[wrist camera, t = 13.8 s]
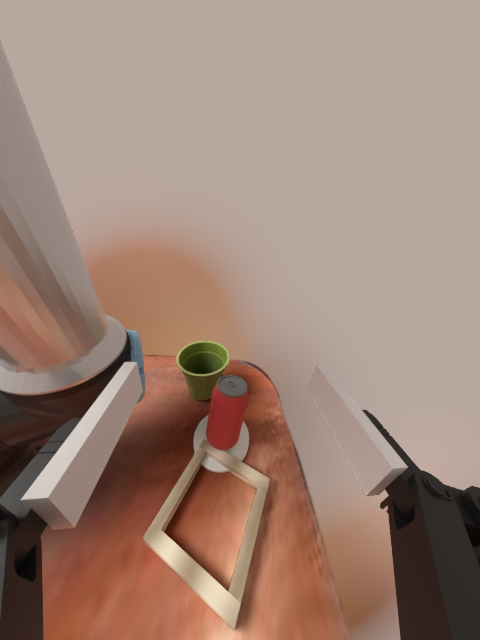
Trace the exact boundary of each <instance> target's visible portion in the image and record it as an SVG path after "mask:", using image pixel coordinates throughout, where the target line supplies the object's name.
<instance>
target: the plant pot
mask: <svg viewBox="0 0 480 640" xmlns="http://www.w3.org/2000/svg"><path fill="white" fill-rule="evenodd" d="M229 357H230V356H229V353H228V351H227V349H226V348H225V347H223V346H222V345H220V344H218V343H215V342H211V341H199V342H195V343H191V344H189V345H187V346H185V347H184V348H183V349H181V350H180V352H179V353H178V355H177V365H178V367H179V368H180V369H181V370H182V372H183V374H184V376H185V380H186V383H187V386H188V389H189V392H190V395H191V396H192V397H193V398H194V399H196V400H199V401H204V400H207V399H211V397H212V392H213V389H214V387H215V385H216V384H217V381H218V379H219V378H221V376H222V373H223V371H224V369H225V367H226V366H227V364H228V362H229Z"/></svg>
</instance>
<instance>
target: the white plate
mask: <svg viewBox="0 0 480 640" xmlns="http://www.w3.org/2000/svg"><path fill="white" fill-rule="evenodd" d="M208 416H209V414H208V415H207V416H206V417H204V418H203V419H202V420H201V422H200V423H199V424H198V426H197V428H196V430H195V433H194V440H193V445H194V452H196V451H197V449H198V448H199V446H200V444H201V443H202V441H203V440H204V439H205V440H207V438H206V428H207V422H208ZM207 441H208V440H207ZM248 446H249V432H248V429H247V426H246V424H245V423H244V421H243V423H242V427H241V432H240V436H239V439H238V442H237V443H236V444H235V446H234V447H232V448H230V449H228V450H223V451H225V452H227V453H228V454H230V455H232V456H233V457H235V458H236V459H238V460H240V461H241V462H242V461H243V459H244V458H245V456H246V453H247V450H248ZM201 465H202V466H203V467H204V468H205V469H207V470H209V471H211V472H215V473H225V472H228V471H229V469H228V468H226V467H225V466H223V465H222V464H220V463H218V462H217V461H215V460H214V459H212V458H211V457H209V456H208V455H205V457H204V459H203V461H202V462H201Z"/></svg>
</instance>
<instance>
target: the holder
mask: <svg viewBox="0 0 480 640" xmlns="http://www.w3.org/2000/svg"><path fill="white" fill-rule="evenodd" d="M205 455H208V456H209V457H211V458H212V459H214V460H215V461H217V462H218V463H220V464H222V465H223V466H225V467H226V468H228V469H229V472H230V473H232V474H233V475H235V476H236V477H238V478H240V479H241V480H243V481H244V482H246V483H247V484H249V485H250V486H252V487H253V488H255V489H256V494H255V497H254V501H253V505H252V508H251V512H250V515H249V519H248V522H247V526H246V530H245V533H244V537H243V540H242V544H241V548H240V551H239V555H238V558H237V562H236V565H235V569H234V573H233V576H232V580H231V583H230V587H229V590H228V591H227V590H226V589H225V588H224V587H223V586H221V585H220V584H219V583H218V582H217V581H216V580H215V579H214V578H213V577H212V576H211V575H210V574H208V573H207V572H206V571H205V570H204V569H203V568H202V567H201V566H200V565H199V564H198V563H197V562H195V561H194V560H193V559H192V558H191V557H190V556H189V555H188V554H187V553H186V552H185V551H184V550H182V549H181V548H180V547H179V546H178V545H177V544H176V543H175V542H174V541H173V540H172V539H171V538H169V537H168V536H167V535H166V534H165V533H164V531H165V529H166V528H167V526H168V524H169V522H170V520H171V519H172V517H173V515H174V513H175V511H176V510H177V508H178V506H179V504H180V502H181V501H182V499H183V497H184V495H185V493H186V492H187V490H188V488H189V486H190V484H191V483H192V481H193V479H194V477H195V475H196V474H197V472H198V470H199V468H200V466H201V462H202V461H203V459H204V457H205ZM269 482H270V479H269V478H268V477H266V476H264V475H263V474H261V473H259V472H258V471H256V470H254V469H253V468H251V467H250V466H248V465H246V464H245V463H243V462H241V461H240V460H238V459H236V458H235V457H233V456H232V455H230V454H228V453H227V452H225V451H223V450H218V449H216V448H214V447H212V446H211V445H210V443H209V442H208V441H207V440H205V439H204V440H203V441H202V443H201V444H200V446H199V448H198V449H197V451H196V452H195V454H194V456H193V457H192V459H191V461H190V462H189V464H188V465H187V467H186V469H185V470H184V472H183V474H182V475H181V477H180V478H179V480H178V482H177V483H176V485H175V486H174V488H173V490H172V491H171V493H170V495H169V496H168V498H167V499H166V501H165V503H164V504H163V506H162V508H161V509H160V511H159V512H158V514H157V516H156V517H155V519H154V520H153V522H152V524H151V525H150V527H149V529H148V530H147V532H146V533H145V535H144V537H143V540H144V541H145V543H146V544H147V545H148V546H149V547H150V548H151V549H152V550H153V551H154V552H155V553H156V554H157V555H158V556H159V557H160V558H161V559H162V560H163V561H164V562H165V563H166V564H167V565H168V566H169V567H170V568H171V569H172V570H173V571H174V572H175V573H176V574H177V575H178V576H179V577H180V578H181V579H182V580H183V581H184V582H185V583H186V584H187V585H188V586H189V587H190V588H191V589H192V590H193V591H194V592H195V593H196V594H197V595H198V596H199V597H200V598H201V599H202V600H203V601H204V602H205V603H206V604H207V605H208V606H209V607H210V608H211V609H212V610H213V611H214V612H215V613H216V614H217V615H218V616H219V617H220V618H221V619H222V620H223V621H224V622H225V623H226V624H227V625H228V626H229V627H230V628H231V629H232V630H235V626H236V622H237V617H238V613H239V609H240V605H241V600H242V596H243V592H244V588H245V583H246V579H247V575H248V571H249V566H250V562H251V558H252V554H253V549H254V545H255V541H256V537H257V532H258V528H259V524H260V520H261V515H262V511H263V507H264V503H265V498H266V494H267V490H268V486H269Z"/></svg>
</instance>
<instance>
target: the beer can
mask: <svg viewBox="0 0 480 640" xmlns="http://www.w3.org/2000/svg"><path fill="white" fill-rule="evenodd" d="M247 402H248V386H247V383H246V382H245V381H244V380H243V379H241V378H240V377H237V376H234V375H226V376H222V377H221V378H219V379H218V381H217V384H216V385H215V387H214V389H213V392H212V397H211V403H210V409H209V416H208V422H207V428H206V438H207V440H208V442H209V443H210V445H211V446H212V447H214V448H216V449H218V450H228V449H230V448H232V447H234V446H235V444H236V443H237V442H238V439H239V436H240V432H241V427H242V423H243V419H244V415H245V411H246V407H247Z"/></svg>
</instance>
